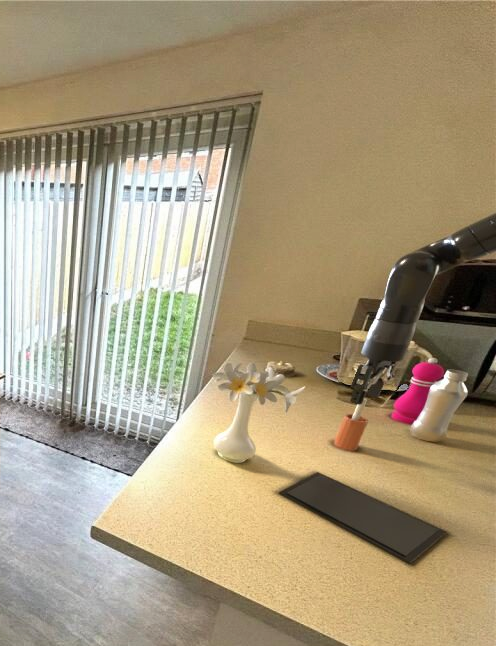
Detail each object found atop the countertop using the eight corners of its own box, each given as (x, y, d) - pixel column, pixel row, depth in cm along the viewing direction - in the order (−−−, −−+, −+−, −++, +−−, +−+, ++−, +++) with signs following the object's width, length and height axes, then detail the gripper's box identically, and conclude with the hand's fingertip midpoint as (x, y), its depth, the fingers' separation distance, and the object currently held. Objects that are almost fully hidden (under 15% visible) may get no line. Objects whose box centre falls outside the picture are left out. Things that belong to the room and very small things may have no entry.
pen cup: (359, 449, 104) (372, 419, 101) (350, 453, 102) (362, 423, 99) (338, 441, 108) (350, 412, 105) (329, 445, 106) (341, 416, 103)
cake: (298, 380, 149) (303, 367, 146) (268, 378, 151) (272, 365, 149) (288, 368, 157) (292, 356, 154) (260, 367, 160) (263, 355, 157)
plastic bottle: (419, 431, 112) (451, 366, 104) (448, 443, 106) (484, 375, 98) (400, 433, 111) (431, 368, 103) (429, 446, 105) (464, 377, 97)
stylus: (349, 446, 105) (368, 399, 99) (346, 447, 104) (365, 400, 99) (342, 443, 106) (361, 397, 100) (340, 445, 105) (358, 398, 100)
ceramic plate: (369, 399, 131) (372, 391, 130) (298, 372, 154) (300, 365, 153) (428, 392, 136) (432, 384, 134) (350, 366, 159) (353, 359, 158)
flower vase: (278, 481, 93) (311, 385, 83) (192, 458, 102) (212, 369, 92) (275, 454, 103) (305, 366, 93) (197, 436, 112) (216, 353, 102)
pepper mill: (428, 428, 113) (460, 363, 106) (396, 424, 116) (425, 360, 108) (413, 417, 120) (442, 355, 112) (383, 413, 122) (410, 352, 114)
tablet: (445, 534, 77) (447, 530, 76) (408, 565, 70) (410, 561, 70) (316, 474, 95) (317, 471, 94) (277, 494, 88) (279, 491, 88)
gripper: (395, 347, 87) (368, 411, 94) (423, 337, 93) (396, 399, 99) (353, 339, 93) (331, 400, 100) (382, 330, 99) (360, 389, 106)
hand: (364, 399), depth 100 cm, fingers open, 8 cm apart
